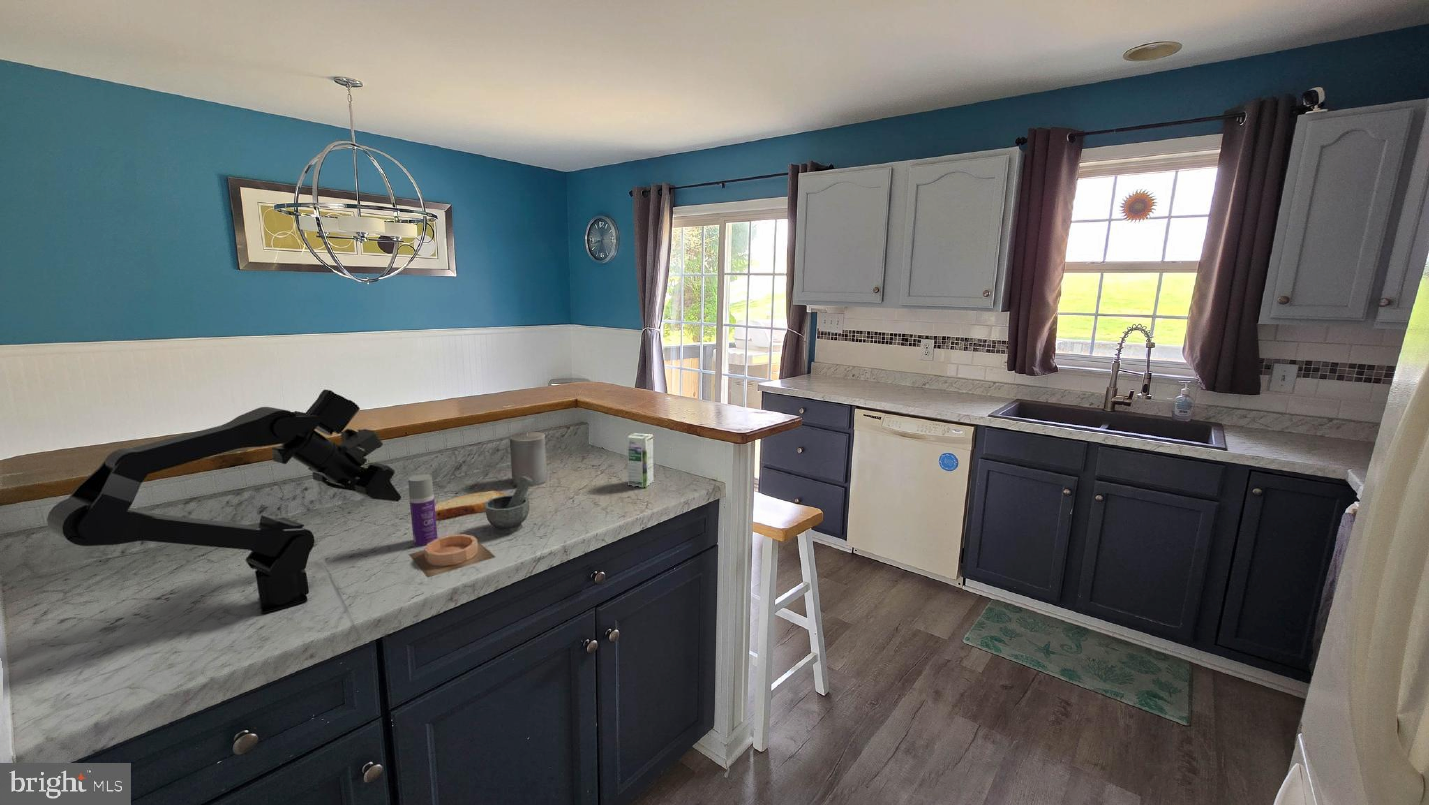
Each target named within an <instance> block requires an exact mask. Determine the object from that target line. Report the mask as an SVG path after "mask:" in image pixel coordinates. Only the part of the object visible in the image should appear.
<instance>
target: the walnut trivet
mask: <svg viewBox="0 0 1429 805" xmlns="http://www.w3.org/2000/svg"><path fill="white" fill-rule="evenodd" d="M477 542H478V549H477V554H476V556H475V557H473V558H472V559H470V560H469V561H466V562H464V563H461V564H457V565H452V566H433V565H430V564H428V563H427V561H426V558H425V552H424V549H423V550H419V551H416V552H412V553H409V554H408V555H409V556H410V557H411V559H412V560H413V561H414V562H415V564H416V565H417V566H418V567H419V568H420V570H421V571H422V572H423V574H424V575H425V576H426V577H427V578H430V577H433V576H438V575H440V574H444V573H447V572H451V571H454V570H458V569H461V568H464V567H467V566H470V565H474V564H477V563H481V562H484V561H487V560H491V559H494V558H496V556H495V555H494V554H493V553H492V552H491V551H489V549H488V548H486V547H485V546H484V545H483V544H481V542H479V540H477Z"/></svg>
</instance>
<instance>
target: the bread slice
mask: <svg viewBox="0 0 1429 805" xmlns="http://www.w3.org/2000/svg"><path fill="white" fill-rule="evenodd" d="M504 495H506V494H505V493H503V492H500V491H497V490H489V491H481V492H475V493H470V494H464V495H460V496H457V497H454V498H451V499H447V500H443V501H441V502H437V503H435V514H436V521H444V520H451V519H456V518H460V517H465V516H468V515H475V514H481V513H482V514H483V513H486V512H485V506H484V503H485V502H487V501H489V500H490V499H492V498H496V497H500V496H504Z"/></svg>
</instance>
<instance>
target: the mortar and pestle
mask: <svg viewBox="0 0 1429 805" xmlns="http://www.w3.org/2000/svg"><path fill="white" fill-rule="evenodd" d="M532 482H533V481H532V480H531V479H530V478H528V477H525V476H522V477H521V478H520V483H519V485H518V486H516V489H515V491H514V493H513V494H508V495H507V494H505V495H504V496H500V497H496V498H492V499H490V500H489V501H487V502H485V503H484V506H485V512H484V513H485V516H486V520H487V521H488V522H489V524H490V525H491V526H492V527H494V533H496V534H499V535H506V534H507V535H509V534H514V533H518V532H519V531H521V530H522V529H523V525H522V524H523V523H524V521H525V520H526V519H527V518H528V515H529V514H530V500H529V498H528V496H527V494H528V492H529V491H528V490H529V488H530V487H531V486H530V484H532ZM529 486H530V487H529Z"/></svg>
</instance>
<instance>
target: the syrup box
mask: <svg viewBox="0 0 1429 805" xmlns="http://www.w3.org/2000/svg"><path fill="white" fill-rule="evenodd" d="M626 443H627V472H628V473H627V483H628V485H632V486H631V487H635V486H639V487H638V488H644V487H645V488H644V489H646V488H648V487H649V486H650V485H651V484H653V483H654V434H652V433H651V434H646V433H639V432H634V433H631V434H630V435H628V436H627V442H626ZM652 482H653V483H652ZM650 483H651V484H650ZM648 485H649V486H648ZM647 486H648V487H647Z"/></svg>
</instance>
